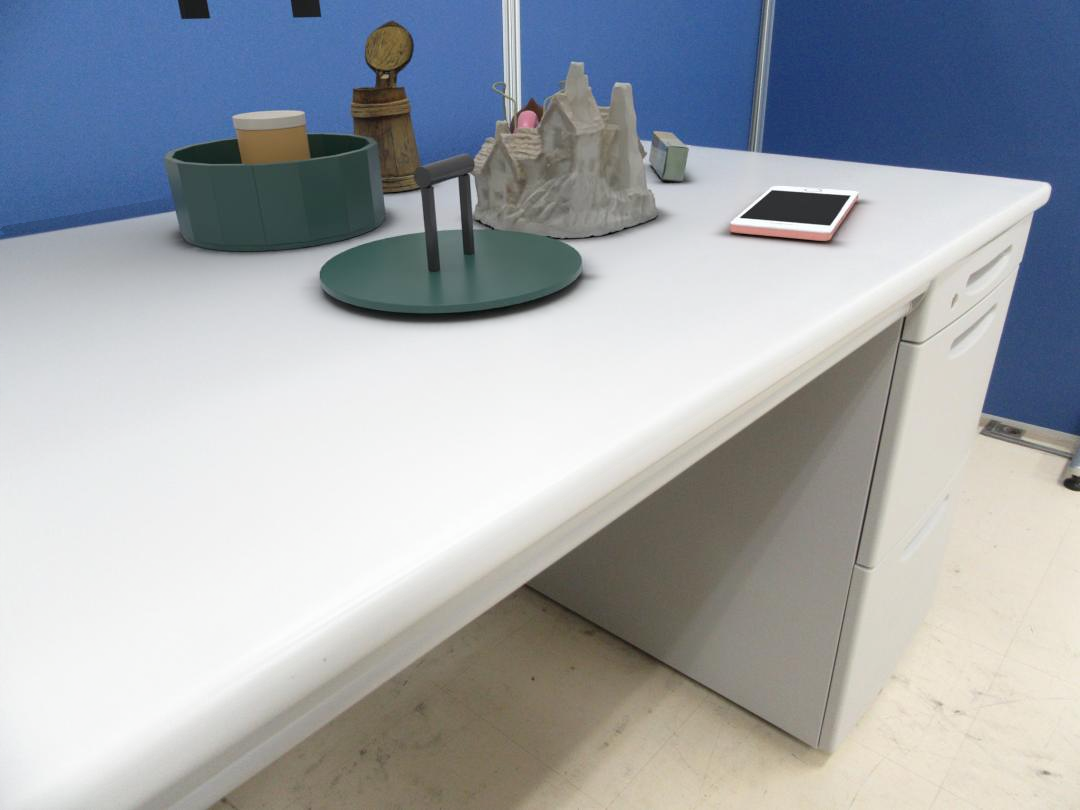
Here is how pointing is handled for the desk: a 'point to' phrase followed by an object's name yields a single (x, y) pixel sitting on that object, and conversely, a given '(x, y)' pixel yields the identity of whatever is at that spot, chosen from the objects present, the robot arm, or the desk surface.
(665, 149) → the medication box
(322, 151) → the pot
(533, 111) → the anatomy model
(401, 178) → the wooden mug
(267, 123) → the tan canister with cap
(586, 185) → the ceramic cottage
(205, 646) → the desk surface
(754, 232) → the cell phone
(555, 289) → the lid
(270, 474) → the desk surface
